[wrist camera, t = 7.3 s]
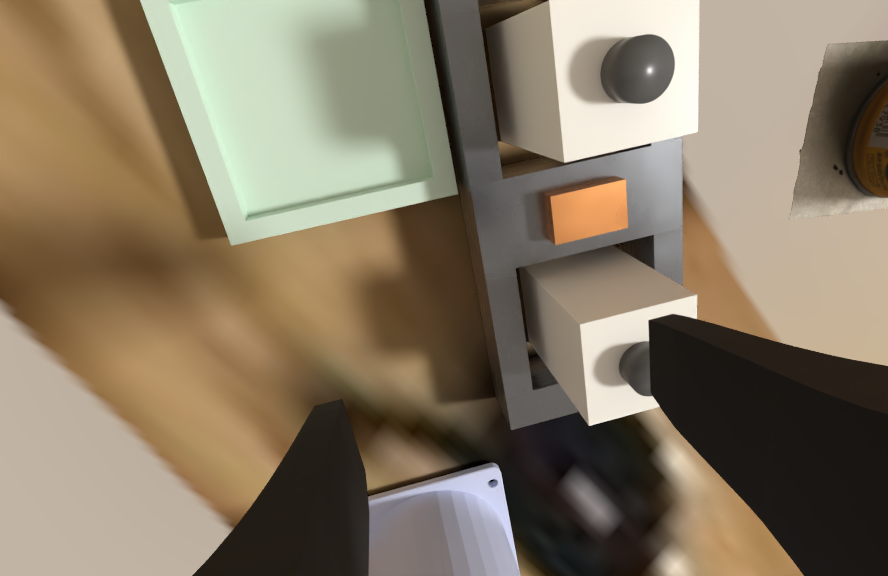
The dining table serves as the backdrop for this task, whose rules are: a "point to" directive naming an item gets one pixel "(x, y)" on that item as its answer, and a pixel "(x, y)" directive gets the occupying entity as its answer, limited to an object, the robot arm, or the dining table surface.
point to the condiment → (846, 134)
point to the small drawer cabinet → (541, 210)
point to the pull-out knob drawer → (599, 326)
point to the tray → (306, 107)
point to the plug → (596, 75)
